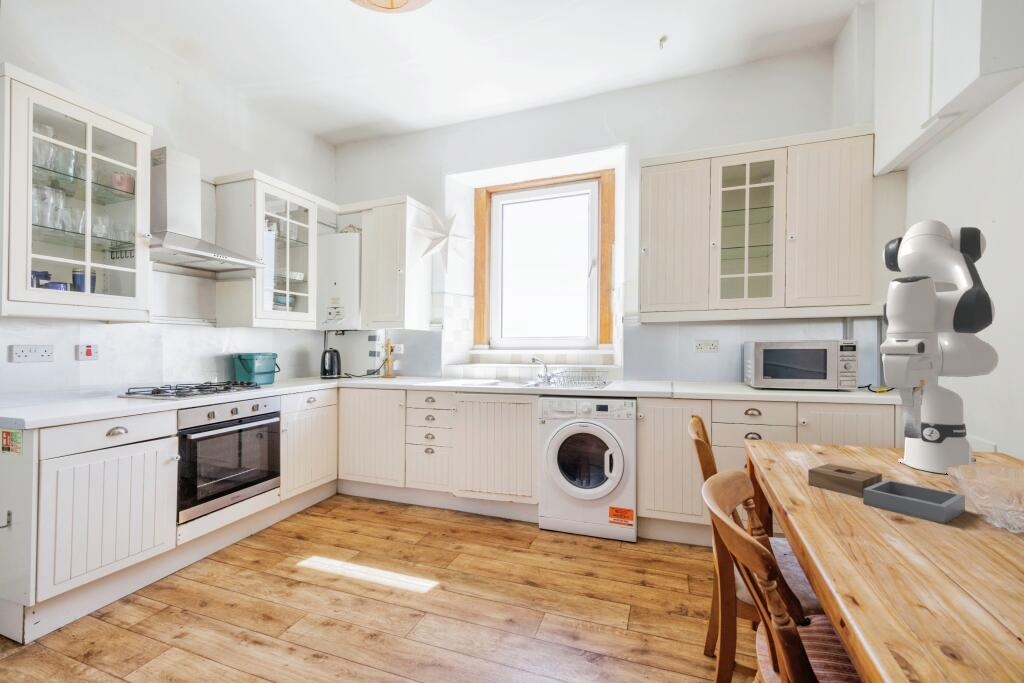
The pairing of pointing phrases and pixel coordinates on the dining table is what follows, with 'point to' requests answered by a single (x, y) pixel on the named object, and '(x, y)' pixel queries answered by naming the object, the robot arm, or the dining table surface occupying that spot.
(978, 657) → the dining table surface
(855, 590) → the dining table surface
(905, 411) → the clear capped tube
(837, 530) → the dining table surface
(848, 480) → the block
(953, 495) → the tray
